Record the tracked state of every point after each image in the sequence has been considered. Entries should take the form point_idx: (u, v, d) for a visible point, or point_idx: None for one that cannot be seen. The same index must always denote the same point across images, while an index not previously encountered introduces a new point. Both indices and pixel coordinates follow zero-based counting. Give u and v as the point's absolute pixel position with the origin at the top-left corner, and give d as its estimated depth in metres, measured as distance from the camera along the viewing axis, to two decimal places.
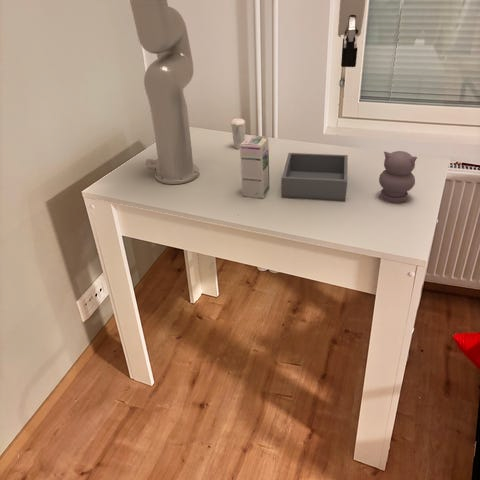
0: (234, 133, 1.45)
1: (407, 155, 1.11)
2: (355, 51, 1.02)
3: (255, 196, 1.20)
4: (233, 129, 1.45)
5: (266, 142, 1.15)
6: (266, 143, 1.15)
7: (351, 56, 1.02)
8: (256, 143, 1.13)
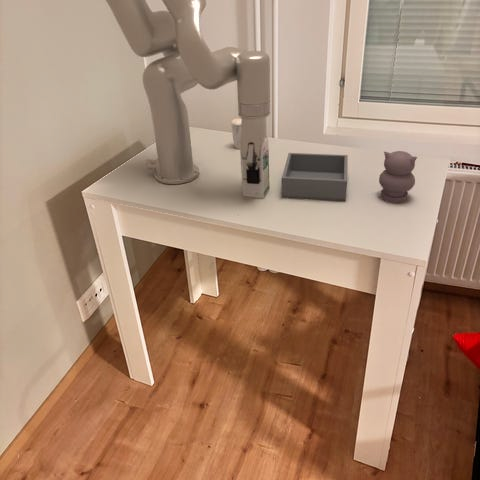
0: (234, 133, 1.45)
1: (407, 155, 1.11)
2: (257, 172, 1.15)
3: (255, 196, 1.20)
4: (233, 129, 1.45)
5: (266, 142, 1.15)
6: (266, 143, 1.15)
7: (254, 176, 1.15)
8: None
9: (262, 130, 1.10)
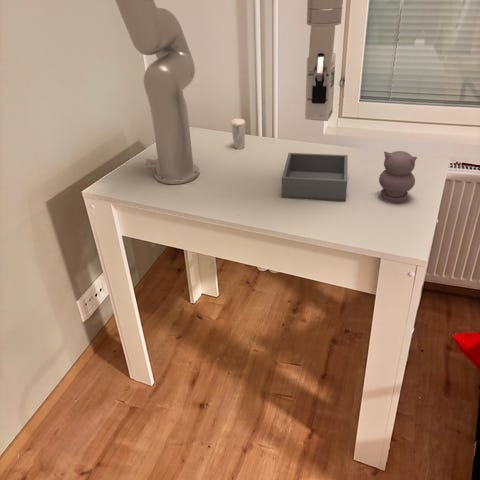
0: (234, 133, 1.45)
1: (407, 155, 1.11)
2: (324, 89, 1.07)
3: (319, 119, 1.12)
4: (233, 129, 1.45)
5: (334, 57, 1.07)
6: (334, 58, 1.07)
7: (321, 94, 1.07)
8: None
9: (333, 40, 1.02)
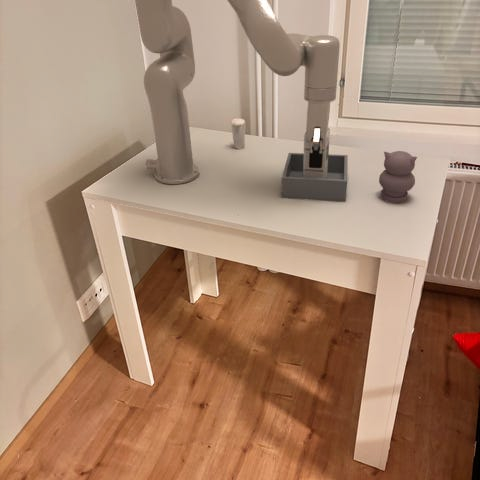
0: (234, 133, 1.45)
1: (407, 155, 1.11)
2: (321, 155, 1.15)
3: None
4: (233, 129, 1.45)
5: (328, 133, 1.17)
6: (328, 134, 1.17)
7: (317, 160, 1.15)
8: None
9: (328, 114, 1.11)
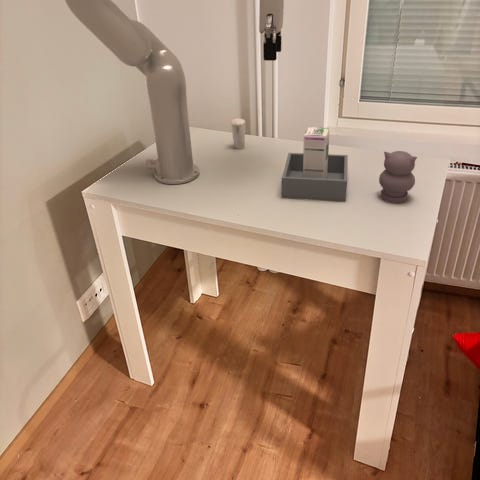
0: (234, 133, 1.45)
1: (407, 155, 1.11)
2: (274, 46, 1.14)
3: None
4: (233, 129, 1.45)
5: (328, 133, 1.17)
6: (328, 134, 1.17)
7: (271, 50, 1.14)
8: (320, 134, 1.15)
9: (281, 2, 1.11)
